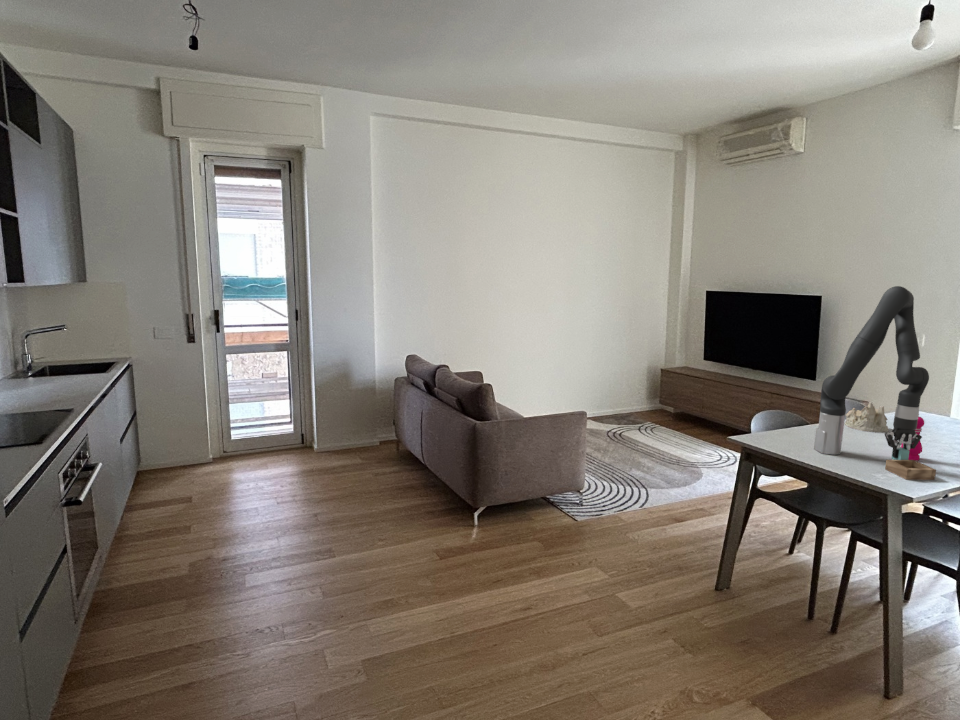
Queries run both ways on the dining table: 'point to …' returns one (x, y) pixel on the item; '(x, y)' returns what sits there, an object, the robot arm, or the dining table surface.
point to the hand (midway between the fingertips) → (899, 457)
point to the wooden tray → (910, 469)
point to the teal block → (902, 454)
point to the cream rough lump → (867, 419)
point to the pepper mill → (918, 449)
